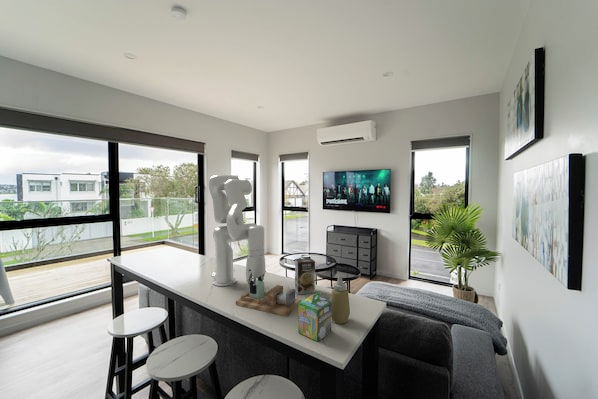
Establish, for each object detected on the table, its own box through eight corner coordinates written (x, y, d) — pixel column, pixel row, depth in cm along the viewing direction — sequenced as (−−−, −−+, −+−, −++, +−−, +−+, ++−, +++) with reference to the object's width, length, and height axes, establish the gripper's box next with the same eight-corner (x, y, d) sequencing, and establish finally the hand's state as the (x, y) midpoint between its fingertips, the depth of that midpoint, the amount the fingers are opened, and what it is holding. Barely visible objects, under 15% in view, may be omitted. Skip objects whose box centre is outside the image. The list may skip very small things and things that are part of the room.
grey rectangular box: (267, 302, 112) (267, 290, 112) (274, 297, 118) (274, 285, 118) (289, 307, 108) (289, 294, 108) (295, 301, 114) (295, 289, 113)
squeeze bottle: (347, 315, 105) (347, 272, 105) (352, 325, 97) (352, 279, 97) (328, 315, 105) (328, 272, 104) (331, 325, 97) (331, 279, 96)
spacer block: (249, 298, 117) (249, 283, 117) (255, 294, 122) (255, 280, 121) (258, 300, 115) (258, 285, 115) (264, 296, 120) (264, 281, 119)
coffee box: (297, 294, 126) (297, 262, 125) (294, 289, 132) (294, 259, 132) (315, 292, 128) (315, 261, 128) (311, 288, 135) (311, 257, 134)
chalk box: (312, 323, 99) (312, 285, 99) (332, 331, 93) (332, 291, 93) (297, 333, 92) (297, 292, 92) (317, 343, 86) (317, 299, 86)
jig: (235, 304, 115) (235, 288, 115) (253, 293, 128) (253, 278, 127) (286, 316, 104) (286, 298, 104) (300, 302, 117) (300, 286, 117)
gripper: (259, 247, 127) (259, 284, 128) (238, 255, 112) (238, 296, 112) (272, 249, 124) (272, 286, 124) (252, 257, 108) (252, 299, 109)
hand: (256, 290), depth 118 cm, fingers closed on spacer block, 4 cm apart
